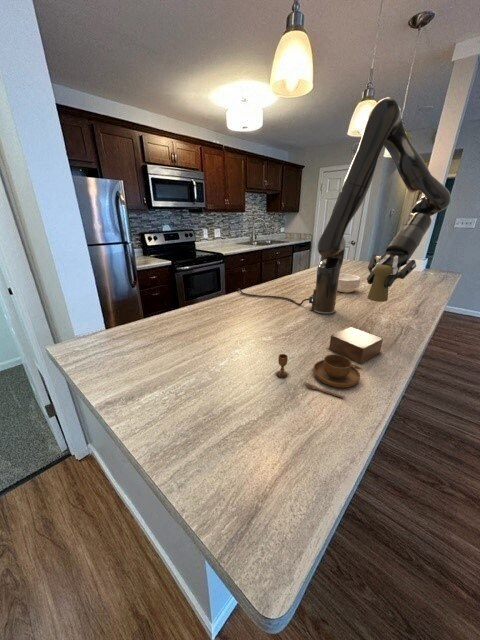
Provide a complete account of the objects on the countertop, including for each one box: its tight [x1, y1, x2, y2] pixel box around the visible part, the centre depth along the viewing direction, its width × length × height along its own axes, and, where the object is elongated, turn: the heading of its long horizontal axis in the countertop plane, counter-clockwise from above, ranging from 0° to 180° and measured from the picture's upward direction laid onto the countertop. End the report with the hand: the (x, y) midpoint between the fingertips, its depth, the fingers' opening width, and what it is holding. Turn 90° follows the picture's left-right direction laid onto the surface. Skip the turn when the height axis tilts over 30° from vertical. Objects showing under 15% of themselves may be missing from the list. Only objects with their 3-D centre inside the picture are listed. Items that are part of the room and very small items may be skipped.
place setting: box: [276, 353, 361, 399], centre depth 72 cm, size 18×20×6 cm
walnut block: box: [328, 326, 384, 364], centre depth 83 cm, size 11×11×5 cm
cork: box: [366, 264, 392, 303], centre depth 84 cm, size 6×6×11 cm
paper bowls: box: [337, 273, 361, 293], centre depth 147 cm, size 15×15×8 cm
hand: (377, 284), depth 83 cm, fingers closed on cork, 5 cm apart
